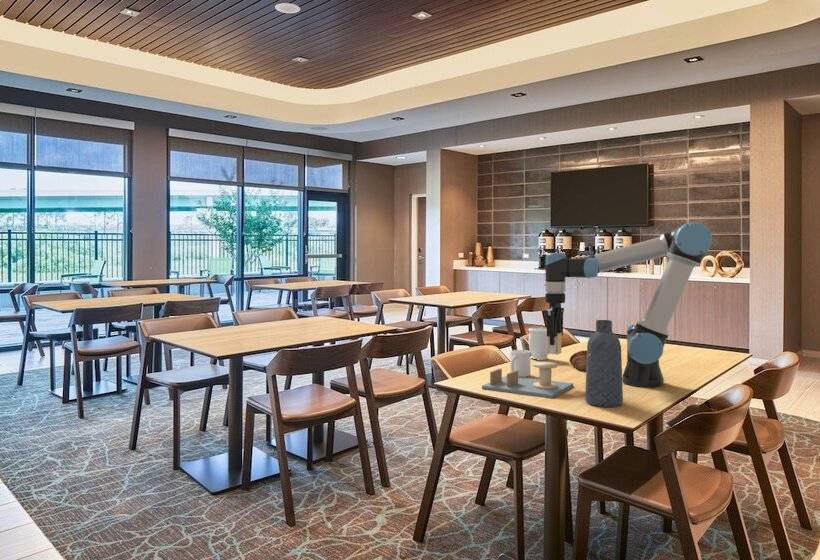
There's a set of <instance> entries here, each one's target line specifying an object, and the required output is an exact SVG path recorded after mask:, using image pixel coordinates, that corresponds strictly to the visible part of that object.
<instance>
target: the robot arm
mask: <svg viewBox="0 0 820 560" xmlns="http://www.w3.org/2000/svg"><path fill="white" fill-rule="evenodd" d="M712 243H713V235H712V232H711V230H710V229H709V228H708V226H706V225H704V224H703V223H700V222H696V221H691V222H686V223H684V224H682V225H681V226H679V227H677V228H675V229H672V230H670V231H667V232H664V233H661V234H660V236H658V237H655V238H652V239H647V240H644V241H640V242H637V243H633V244H629V245H626V246H622V247H618V248H614V249H610V250H607V251H604V252H603V251H602V252H599V253H596V254H592V255H587V256H583V257H567V255H566V253H564V252H549V253H547V254H546V255H545V264H544V265H545V266H544V267H545V271H544V272H545V284H544V287H545V292H546V293H545V296H544V297H545V303H546V304H549V305H548V309H546V310H545V314H546V328H547V336H549V353H553V354H552V355H557V337H555V336H556V332H558V333H562V336H563V335H564V312H565V309H564V307H562V304H565V303H566V293H565V292H566V278H579V279H580V278H583V279H584V278H586V279H591V278H597V277H598V274H600V273H603V272H608V271H611V270H615V269H619V268H624V267H627V266H631V265H635V264H639V263H642V262H647V261H650V260H654V259H659V258H663V257H667V258H668V261H667V264H666V266H665V268H664V271H663V272H662V276H661V278H660V280H659V282H658V285H657V287H656V289H655V291H654V294H653V296H652V298H651V301H650V303H649V305H648V308H647V310H646V312H645V314H644V316H643V318H642V319H641V320H639V321H637V322H636V324H629V325H627V329H626V334H627V335H626V346H627V347H626V348H627V349H626V353H627V354H626V358H627V359H626V365H625V367H624V371H623V372H622V384H626V385H629V386H635V387H641V388H642V387H643V388H652V387H653V388H654V387H661V386H664V383H665V377H664V376H663V375H664V374H663V373H662V372H663V371H662V370H661V367H660V359H661V357H662V356H663V354H664V347H665V344H666V342H667V340H668V337H669V335H670V333H669V332H668V331H669V330H668V326H669V324H670V322H671V320H672V317H673V315H674V312H675V310H676V309H677V307H678V303H679V302H680V299H681V297H682V295H683V292H684V291H685V288H686V285H687V283H688V282H689V279H690V278H691V277H690V276H691V275H692V272H693V270H694V269H695V268H696V267H697V266H701V264H702V261H703V259H704V257H705V254H706V252H707V251H708V250H709V249H710V248H711V245H712Z"/></svg>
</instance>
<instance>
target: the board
mask: <svg viewBox="0 0 820 560" xmlns="http://www.w3.org/2000/svg"><path fill="white" fill-rule="evenodd" d="M558 365H559V364H558V363H556V362H552V361H537V362H536V361H535V362H533V363H532V366H533V367H535V368H538V369H539V373H538V375H539V376H538V377H539V378H529V377H518V370H515V371H513V372H511V371H510V372H508V373H506V375H505V376H502V373H503V369H502V368H497V369H494V370H492V371H489V375H490V376H489V382H487V383H485V384H483V385H482V386H481V389H483V390H488V389H490V390H489V391H496V392H503V391H504V393H510V392H512V393H511V394H519V395H527V396H533V397H534V396H535V397H541V398H548V399H549V398H550V399H554V398H555V397H557V396H559V395H561V394H562V393H564V392H566V391H568V390H570V389H572V388H573V387H574V382H573V383H572V382H566V381H554V380H552V369H555V368H558Z"/></svg>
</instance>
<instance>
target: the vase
mask: <svg viewBox="0 0 820 560" xmlns="http://www.w3.org/2000/svg"><path fill="white" fill-rule="evenodd" d="M588 338H589V339H587V340H588V341H587V345H586V350H587V363H586V372H585V393H584V394H585V395H584V396H585V398H584V400H585V403H587V405H591V406H595V407H600V408H601V407H602V408H615V407H620V406H622V405H623V402H624V394H623V393H624V390H623V382H622V376H623V364H622V363H623V362H622V346H621V345H622V344H621V340H620V338H619V337H618V335H616V334H615V333H614V332H613V322H612V320H608V319H596V320H595V332H593V333H592V334H591V335H590V336H589V337H588Z"/></svg>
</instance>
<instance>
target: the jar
mask: <svg viewBox="0 0 820 560" xmlns="http://www.w3.org/2000/svg"><path fill="white" fill-rule="evenodd" d="M528 332H529V334H528V347H529V351H530V359H531V358H533V359H547V360H549V357H548V355H549V354H548V336H547V327H531V328H528ZM533 359H532V360H533Z"/></svg>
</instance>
